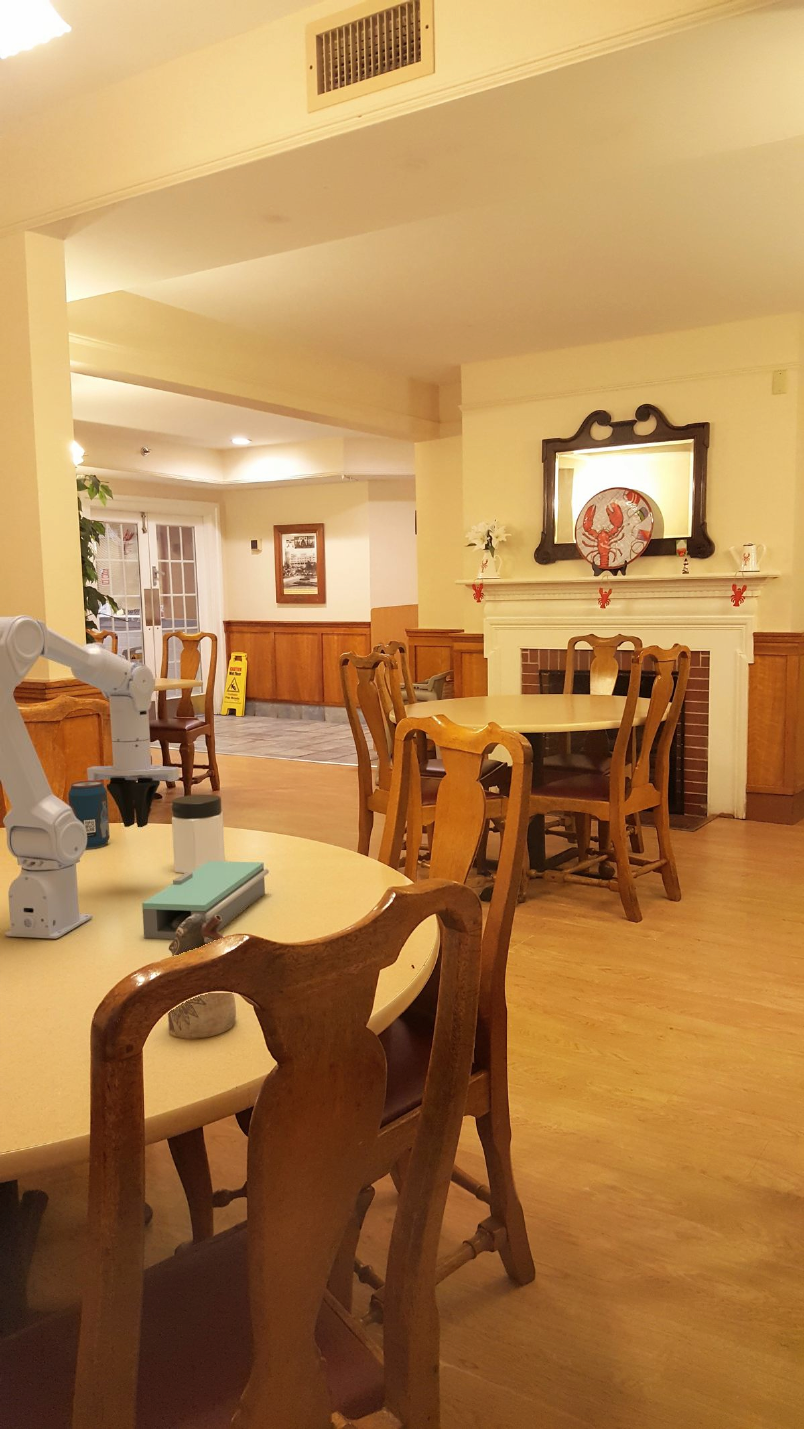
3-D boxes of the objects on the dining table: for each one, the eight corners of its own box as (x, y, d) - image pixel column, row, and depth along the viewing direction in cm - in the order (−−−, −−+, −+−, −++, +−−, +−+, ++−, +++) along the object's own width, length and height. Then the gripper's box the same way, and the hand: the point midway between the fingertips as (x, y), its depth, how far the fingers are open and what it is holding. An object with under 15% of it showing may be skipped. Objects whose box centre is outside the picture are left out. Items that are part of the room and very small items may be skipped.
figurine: (189, 1008, 110) (183, 902, 108) (247, 1014, 108) (242, 906, 106) (154, 1035, 103) (148, 923, 102) (217, 1042, 101) (211, 927, 100)
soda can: (71, 843, 190) (67, 781, 189) (109, 839, 192) (105, 778, 191) (71, 851, 184) (67, 787, 183) (110, 847, 186) (106, 784, 185)
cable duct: (212, 941, 132) (210, 912, 131) (144, 938, 134) (142, 909, 133) (269, 893, 153) (268, 868, 153) (210, 891, 155) (209, 866, 155)
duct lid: (204, 911, 131) (204, 900, 131) (142, 908, 133) (141, 898, 133) (263, 867, 153) (263, 858, 153) (209, 866, 155) (208, 857, 155)
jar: (180, 862, 174) (177, 794, 172) (227, 860, 174) (224, 793, 173) (170, 876, 165) (166, 804, 163) (220, 874, 165) (216, 803, 164)
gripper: (185, 736, 156) (189, 821, 158) (101, 736, 160) (106, 819, 161) (165, 742, 150) (170, 831, 151) (78, 742, 153) (83, 829, 154)
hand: (135, 825), depth 156 cm, fingers closed
